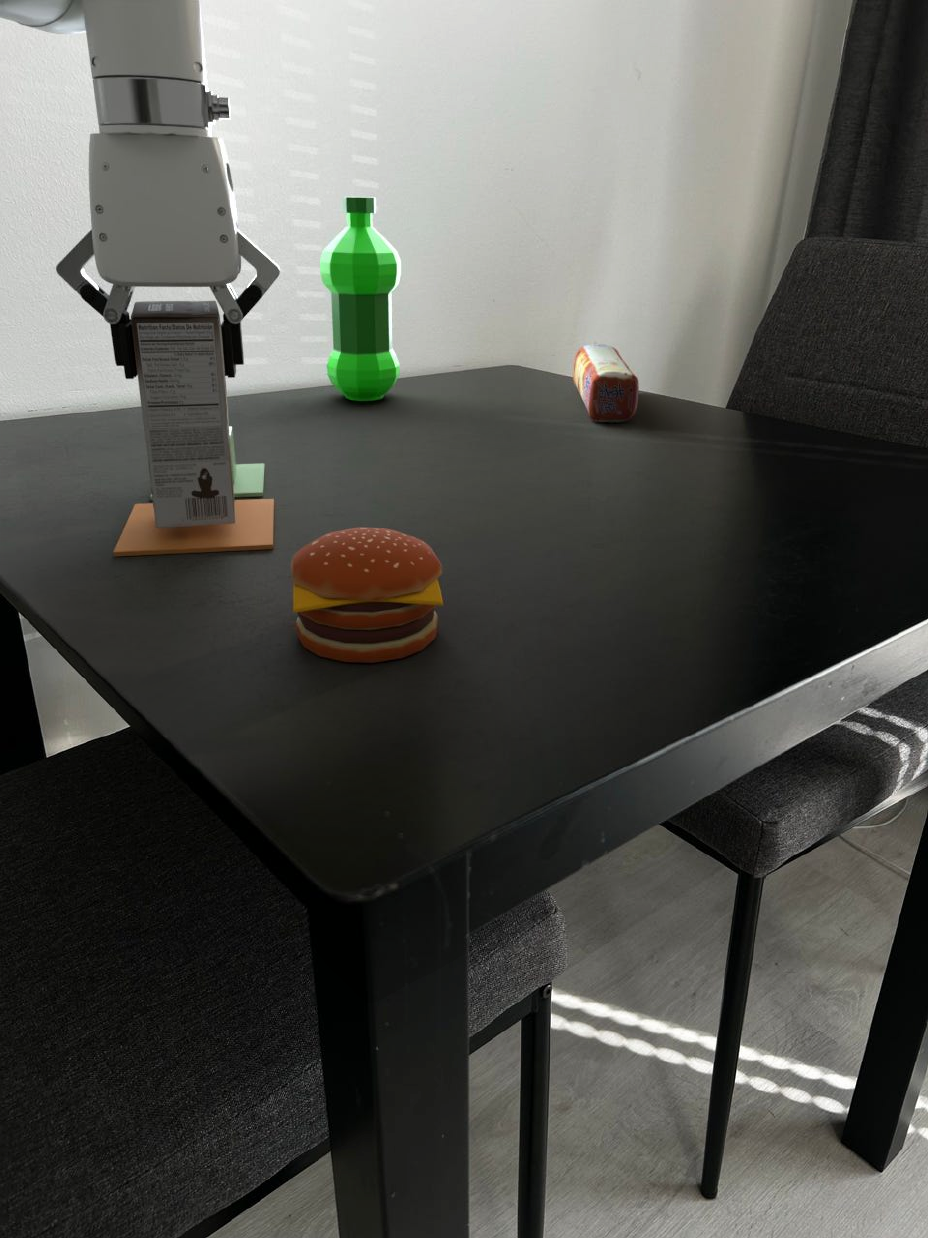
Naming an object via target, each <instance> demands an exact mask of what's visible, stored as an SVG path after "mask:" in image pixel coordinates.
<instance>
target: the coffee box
mask: <svg viewBox="0 0 928 1238" xmlns="http://www.w3.org/2000/svg"><path fill="white" fill-rule="evenodd" d="M130 319H131V323H132V332H133V340H134V348H135V357H136V366H137V374H138V375H137V380H138V390H139V398H140V407H141V414H142V415H141V416H142V422H143V431H144V439H145V447H146V454H147V455H146V456H147V464H148V474H149V482H150V490H151V493H152V503H153V508H154V516H155V523H156V527H157V528H175V527H190V526H205V525H220V524H234V523H235V522H236V518H235V503H234V500H235V497H234V488H233V474H232V459H231V445H230V432H229V427H230V419H229V406H228V405H229V404H228V394H227V381H226V380H227V379H226V376H225V367H224V355H223V343H222V331H221V324H222V322H221V314H220V310H219V307H218V302H217V300H159V301H158V300H149V301H146V300H145V301H134V304H133V308H132V311H131V314H130Z"/></svg>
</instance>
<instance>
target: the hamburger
mask: <svg viewBox="0 0 928 1238" xmlns="http://www.w3.org/2000/svg"><path fill="white" fill-rule="evenodd" d="M442 566H443V565H442V563H441V562H440V559H438V556H437V555H436V554H435V552H434V551H433V548H432V547H431V546H430V545H429V544H428V543H427V542H425V541H424V540H422V539H420V538H418V537H415V536H412V535H409V534H407V533H403V532H400V531H397V530H394V529H391V528H385V527H383V528H382V527H364V526H363V527H362V526H361V527H353V528H346V529H342V530H335V531H330V532H328V533H326V534H324V535H322V536H320V537H319V538H316V539H315V540H313V541H311V542H310V543H308V544H305V545H304V546H303V547H301V548H300V549H299V550H297V551H296V552H295V553H294V555H293V556H292V558H291V563H290V570H291V571H290V572H291V579H292V584H293V585H292V586H293V587H292V588H293V591H292V604H293V605H292V606H293V607H292V608H293V609H292V611H293V612H292V613H293V614H297V618H296V621H295V623H294V627H295V633H296V635H297V636H298V639H299V641H300V643H301V645H302V647H303V648H305V649H307V650H308V651H310V652H312V653H313V654H315V655H316V656H318V657H321V658H326V659H330V660H335V661H339V662H343V663H361V664H363V663H364V664H365V663H367V664H374V663H380V662H381V663H382V662H387V661H392V660H398V659H403V658H406V657H409V656H410V655H414V654H416V653H418V652H421V651H423V650H424V649H425V648H426V647H427V646H428V645H430V643H432V642H433V641H434V640H435V639H436V637H437V632H438V624H439V615H438V614H437V612H436V609H435V608H436V607H444V602H443V597H442V590H441V587H440V584H439V580H438V578H439V577H440V576H441V575H443V567H442Z"/></svg>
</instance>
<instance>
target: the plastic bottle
mask: <svg viewBox="0 0 928 1238" xmlns="http://www.w3.org/2000/svg"><path fill="white" fill-rule="evenodd" d="M341 210H342V211H341V212H342V213H343V214H344V213H345V214H346V227H345V228H344V229H343V230H342V231H340V232H339V233H338V234H337V235H336V236H335V237H334V238H333V239H332V240H331V241H330V242H329V243H328V245H326V247H325V248H324V249H323V250H322V253H321V256H320V259H319V273H320V277H321V282H322V284H323V285H324V286H325V287H326V289H327V290H328V291H329V292H330V297H331V318H332V319H331V321H332V323H331V324H332V344H333V345H332V346H333V349H332V351H331V353H330V355H329V358H328V361H327V364H326V372H327V376H328V377H327V378H328V379H329V381H330V383H331V384H332V385H333V387H334V388H335V389H336V390H337V391H338V392H339V393H340V394H341V395H344V398H345V399H347V400H349V401H355V402H356V401H357V402H372V401H373V402H374V401H377V400H378V401H379V400H382V399H383V398H384V396H385V395H386V394H387V393H388V392H389V391H390V390H391V389H392V388H393V386H394V385H395V384H396V383H397V381H398V378H399V375H400V372H401V371H400V370H401V369H400V362H399V359H398V356H397V354H396V353H395V350H394V348H393V304H392V303H393V302H392V301H393V297H392V296H393V295H392V292H393V291H394V290H395V289H396V288H397V286H398V285H399V284H400V281H401V274H402V261H401V258H400V254H399V253H398V250H397V249H396V248H395V247H394V246H393V245H392V244H391V243H390V242H389V241H388V240H387V239H386V238H385V237H384V236H383V235H382V234H381V233H380V232H379V231H378V230H377V229H376V228H375V227H374V226H373V214H377V197H375V196H373V197H371V196H366V197H365V196H342V197H341Z"/></svg>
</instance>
